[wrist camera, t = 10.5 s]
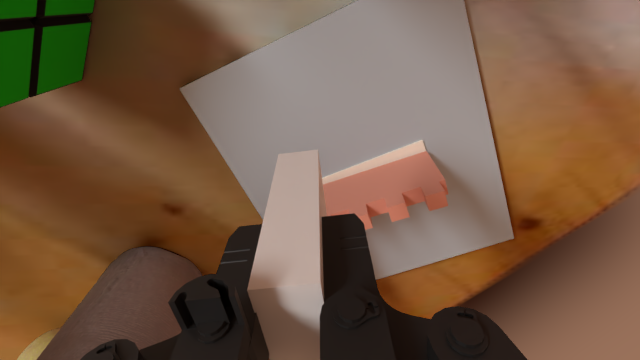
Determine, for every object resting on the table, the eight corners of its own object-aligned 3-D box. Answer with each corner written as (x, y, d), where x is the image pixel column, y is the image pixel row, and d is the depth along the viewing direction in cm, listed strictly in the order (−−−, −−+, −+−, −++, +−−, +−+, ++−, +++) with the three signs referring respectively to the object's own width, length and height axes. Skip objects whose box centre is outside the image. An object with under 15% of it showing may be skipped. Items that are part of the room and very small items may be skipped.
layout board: (313, 292, 35) (313, 300, 34) (183, 86, 25) (177, 89, 24) (509, 232, 31) (515, 239, 30) (449, -46, 21) (455, -48, 20)
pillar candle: (141, 318, 38) (45, 492, 24) (91, 254, 33) (-60, 425, 20) (221, 303, 36) (165, 477, 23) (181, 235, 32) (83, 402, 19)
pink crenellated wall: (310, 188, 28) (306, 232, 22) (426, 150, 26) (451, 188, 21) (315, 200, 28) (313, 245, 23) (429, 163, 26) (454, 204, 21)
